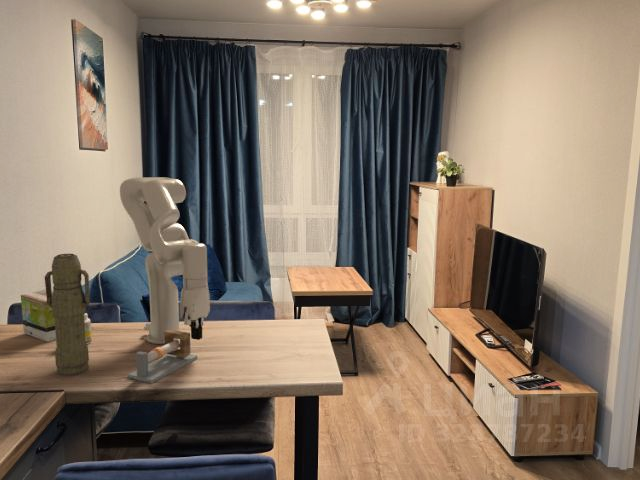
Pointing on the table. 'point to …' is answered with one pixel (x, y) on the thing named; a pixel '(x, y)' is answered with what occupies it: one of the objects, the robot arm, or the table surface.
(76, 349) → the thermos
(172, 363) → the pipe stand
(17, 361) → the table surface
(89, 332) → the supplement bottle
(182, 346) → the collar
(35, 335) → the tea box
